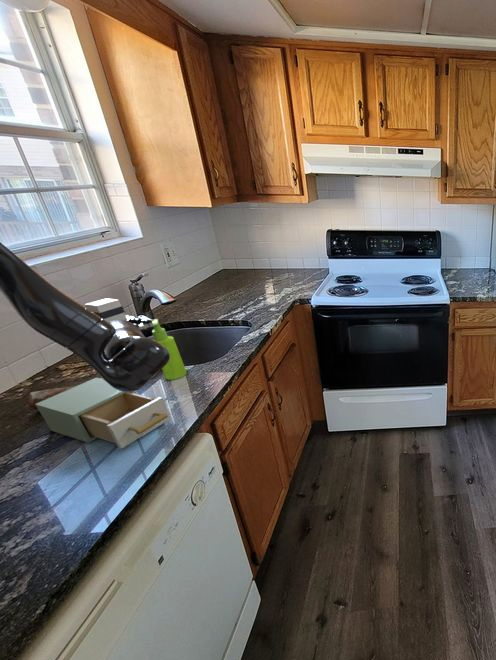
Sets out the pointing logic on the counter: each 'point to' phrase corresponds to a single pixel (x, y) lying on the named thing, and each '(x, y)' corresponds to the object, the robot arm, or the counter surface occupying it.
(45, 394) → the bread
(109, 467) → the counter surface
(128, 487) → the counter surface
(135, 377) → the robot arm
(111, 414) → the drawer
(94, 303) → the white tall square block
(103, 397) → the cabinet
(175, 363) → the soap dispenser
